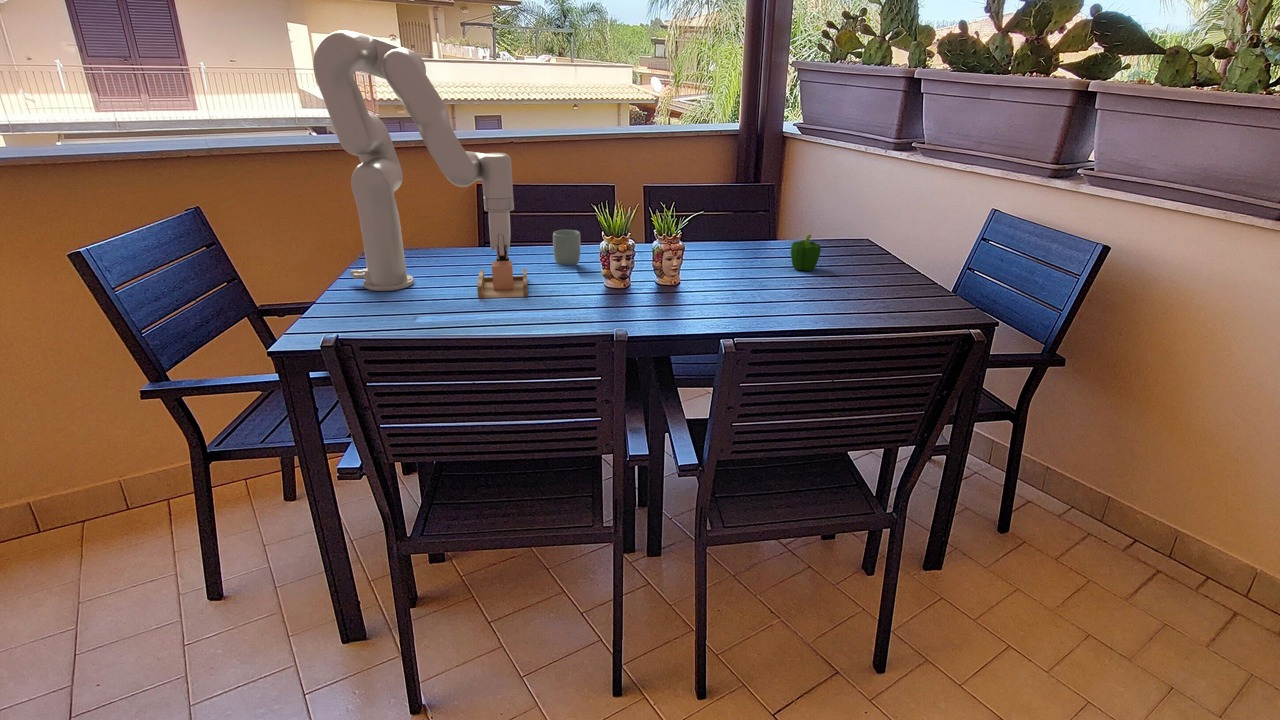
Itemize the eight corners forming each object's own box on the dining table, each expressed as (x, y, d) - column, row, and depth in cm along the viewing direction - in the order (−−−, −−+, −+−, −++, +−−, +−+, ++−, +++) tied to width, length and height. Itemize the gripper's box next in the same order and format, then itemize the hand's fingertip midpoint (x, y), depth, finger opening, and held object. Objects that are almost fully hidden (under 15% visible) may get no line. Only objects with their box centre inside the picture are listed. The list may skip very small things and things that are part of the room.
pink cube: (493, 289, 166) (491, 266, 164) (494, 283, 170) (492, 261, 168) (513, 288, 167) (512, 266, 164) (513, 283, 171) (512, 260, 169)
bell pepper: (806, 274, 188) (811, 240, 184) (783, 268, 194) (787, 235, 190) (823, 269, 193) (828, 236, 189) (800, 263, 199) (804, 231, 195)
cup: (576, 271, 188) (575, 236, 184) (550, 269, 189) (549, 234, 185) (583, 263, 195) (583, 230, 191) (558, 262, 196) (557, 228, 192)
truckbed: (481, 285, 173) (479, 269, 172) (527, 284, 175) (526, 268, 174) (478, 304, 160) (477, 286, 158) (528, 302, 162) (527, 285, 160)
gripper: (484, 198, 173) (490, 266, 181) (482, 209, 160) (488, 282, 167) (513, 198, 174) (517, 265, 182) (514, 209, 161) (518, 280, 168)
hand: (503, 273), depth 175 cm, fingers closed
